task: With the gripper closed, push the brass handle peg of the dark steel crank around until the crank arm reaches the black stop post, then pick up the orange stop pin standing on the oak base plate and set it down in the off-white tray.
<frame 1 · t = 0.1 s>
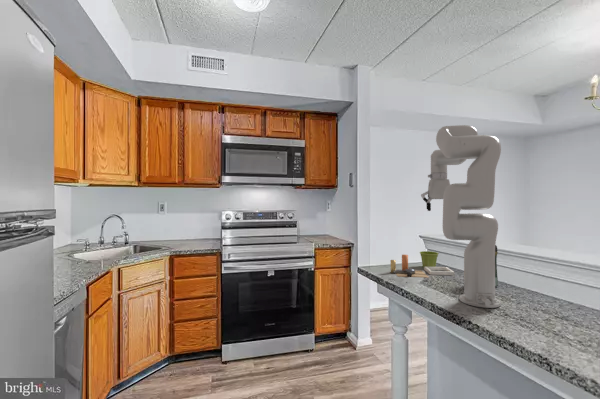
hand: (439, 210, 152), 31 cm above the counter, tool pointing down, fingers open, 9 cm apart
crank: (402, 266, 147), point 4 cm above the counter, hinge at 0.0°
crank base: (410, 275, 147), on the counter
coffee jar: (484, 285, 130), on the counter
stop pin: (405, 270, 152), point 1 cm above the counter, touching crank base
plant pot: (429, 269, 161), on the counter
tray: (438, 274, 149), on the counter
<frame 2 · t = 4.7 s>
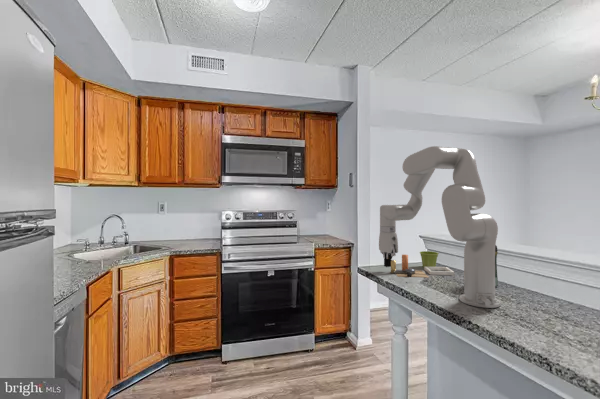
hand: (387, 266, 151), 4 cm above the counter, tool pointing down, fingers closed
crank: (402, 266, 147), point 4 cm above the counter, hinge at 3.0°
everything else where it was.
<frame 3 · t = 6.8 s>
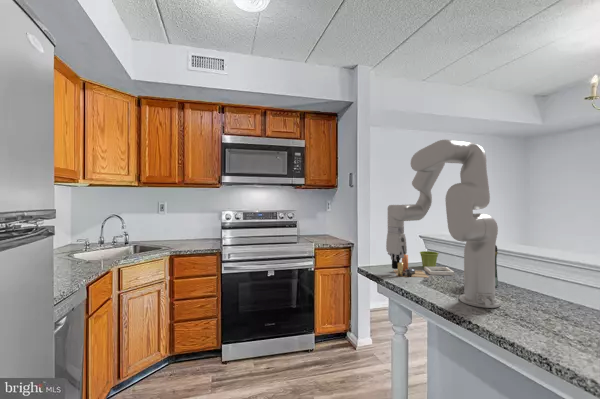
hand: (395, 268, 145), 4 cm above the counter, tool pointing down, fingers closed
crank: (405, 267, 145), point 4 cm above the counter, hinge at 45.3°, touching gripper
everything else where it was.
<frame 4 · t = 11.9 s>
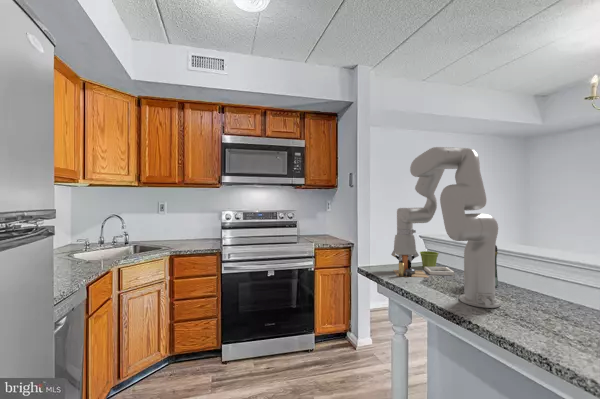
hand: (405, 268, 152), 2 cm above the counter, tool pointing down, fingers closed on stop pin, 3 cm apart
crank: (406, 267, 144), point 4 cm above the counter, hinge at 49.2°
stop pin: (405, 270, 152), point 1 cm above the counter, touching crank base, gripper
everything else where it was.
when the fingers open (3 cm above the counter, at t = 17.0 s): stop pin drops 1 cm, resting on tray.
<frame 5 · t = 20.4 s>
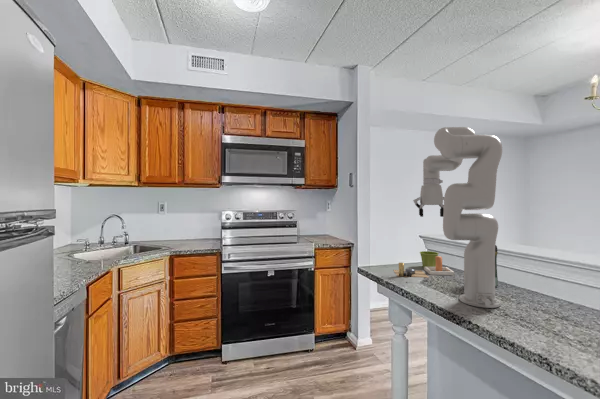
hand: (431, 216, 152), 28 cm above the counter, tool pointing down, fingers open, 9 cm apart
stop pin: (438, 273, 149), point 1 cm above the counter, touching tray
everything else where it was.
at the end: crank at +49° (first picture: +0°); stop pin inside the target area on the tray (0.0 cm from its centre), point 0.6 cm above the tray's base; the gripper is holding nothing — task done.
